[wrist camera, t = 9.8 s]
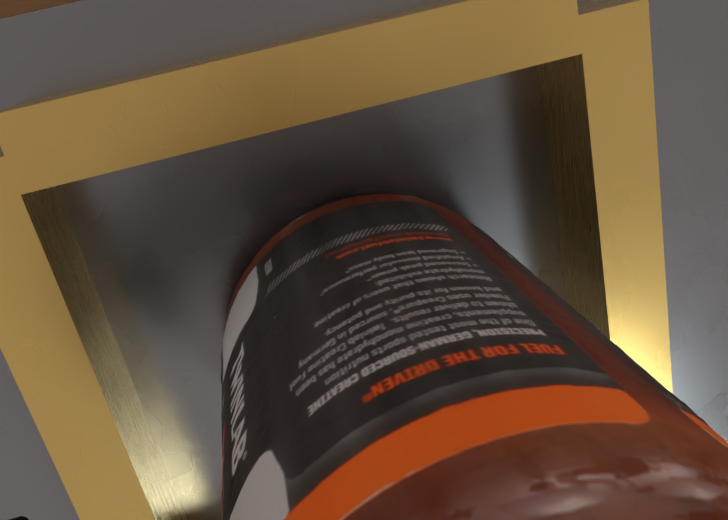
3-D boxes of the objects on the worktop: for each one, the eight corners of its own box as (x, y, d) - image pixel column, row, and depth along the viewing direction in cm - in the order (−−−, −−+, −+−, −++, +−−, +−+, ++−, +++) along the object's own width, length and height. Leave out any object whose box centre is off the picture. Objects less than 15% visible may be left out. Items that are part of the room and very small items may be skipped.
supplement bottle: (154, 327, 13) (-114, 1490, 3) (390, 118, 13) (1123, 587, 2) (353, 501, 16) (619, 1519, 5) (561, 328, 15) (1337, 1059, 5)
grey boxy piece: (618, -244, 17) (906, -435, 10) (659, 354, 23) (856, 508, 16) (-234, -67, 15) (-659, -140, 8) (56, 533, 21) (-32, 802, 14)
